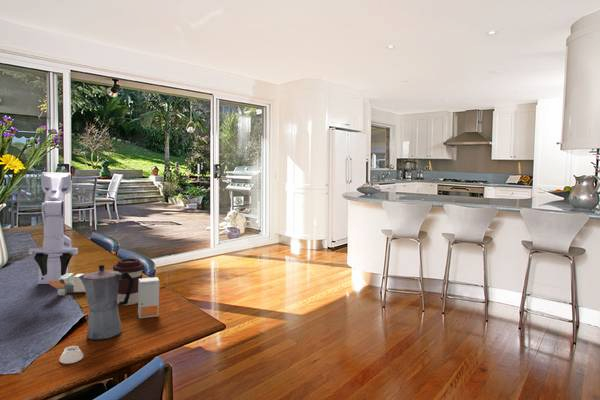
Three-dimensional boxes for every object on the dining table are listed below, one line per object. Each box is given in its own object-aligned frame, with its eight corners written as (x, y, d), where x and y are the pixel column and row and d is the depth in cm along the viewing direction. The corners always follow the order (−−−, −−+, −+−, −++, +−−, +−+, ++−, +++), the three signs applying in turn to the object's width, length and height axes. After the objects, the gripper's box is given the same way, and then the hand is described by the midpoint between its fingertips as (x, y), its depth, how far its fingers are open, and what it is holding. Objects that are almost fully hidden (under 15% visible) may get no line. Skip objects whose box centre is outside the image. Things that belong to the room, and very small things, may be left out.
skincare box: (138, 319, 121) (139, 282, 120) (137, 314, 125) (138, 278, 124) (159, 316, 124) (159, 280, 123) (157, 312, 128) (157, 276, 127)
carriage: (73, 291, 142) (73, 276, 141) (77, 288, 146) (77, 273, 145) (85, 291, 142) (85, 276, 142) (89, 288, 146) (89, 273, 146)
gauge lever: (47, 284, 131) (48, 280, 132) (56, 289, 138) (57, 285, 138) (57, 284, 132) (58, 280, 132) (65, 289, 138) (66, 285, 139)
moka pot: (86, 326, 114) (86, 260, 112) (139, 327, 115) (140, 261, 114) (69, 341, 104) (69, 268, 103) (128, 341, 106) (128, 270, 104)
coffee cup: (146, 297, 141) (146, 257, 140) (139, 307, 131) (140, 263, 130) (117, 297, 139) (117, 257, 138) (108, 307, 129) (109, 263, 128)
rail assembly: (57, 295, 139) (57, 279, 138) (66, 288, 147) (66, 273, 146) (112, 294, 142) (112, 278, 142) (118, 287, 150) (118, 272, 150)
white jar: (78, 353, 98) (56, 359, 95) (78, 342, 98) (56, 348, 94) (86, 360, 95) (63, 367, 91) (86, 348, 95) (63, 355, 91)
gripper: (24, 237, 126) (24, 278, 127) (72, 238, 129) (72, 277, 130) (34, 234, 133) (34, 272, 134) (80, 234, 136) (80, 272, 137)
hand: (54, 274), depth 132 cm, fingers open, 5 cm apart
